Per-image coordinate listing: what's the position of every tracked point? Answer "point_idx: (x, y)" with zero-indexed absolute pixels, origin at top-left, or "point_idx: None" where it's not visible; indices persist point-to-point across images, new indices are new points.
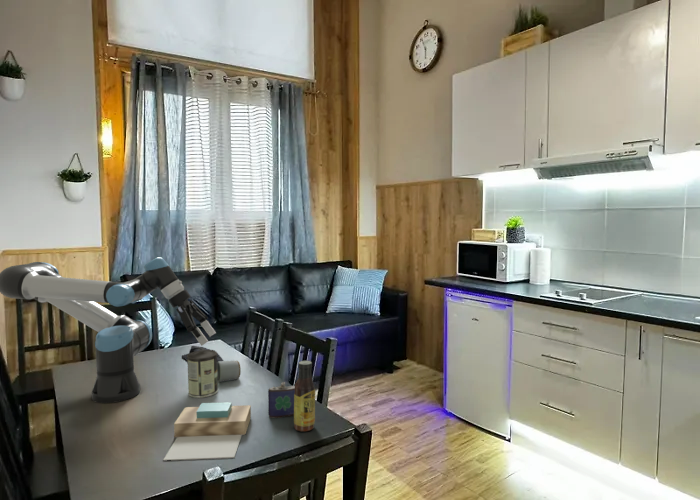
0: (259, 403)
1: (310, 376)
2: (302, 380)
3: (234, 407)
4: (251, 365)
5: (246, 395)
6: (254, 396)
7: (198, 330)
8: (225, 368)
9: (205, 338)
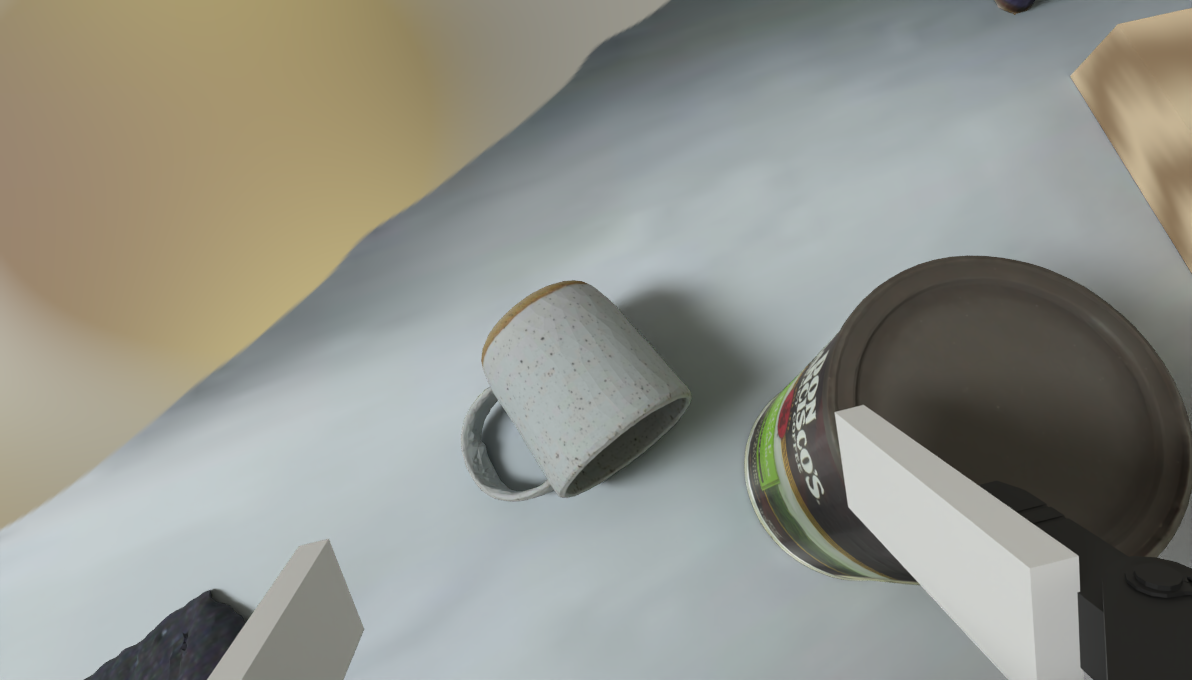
0: (896, 95)
1: None
2: None
3: (1184, 85)
4: (274, 358)
5: (815, 192)
6: (816, 148)
7: (1021, 532)
8: (659, 360)
9: (892, 427)
